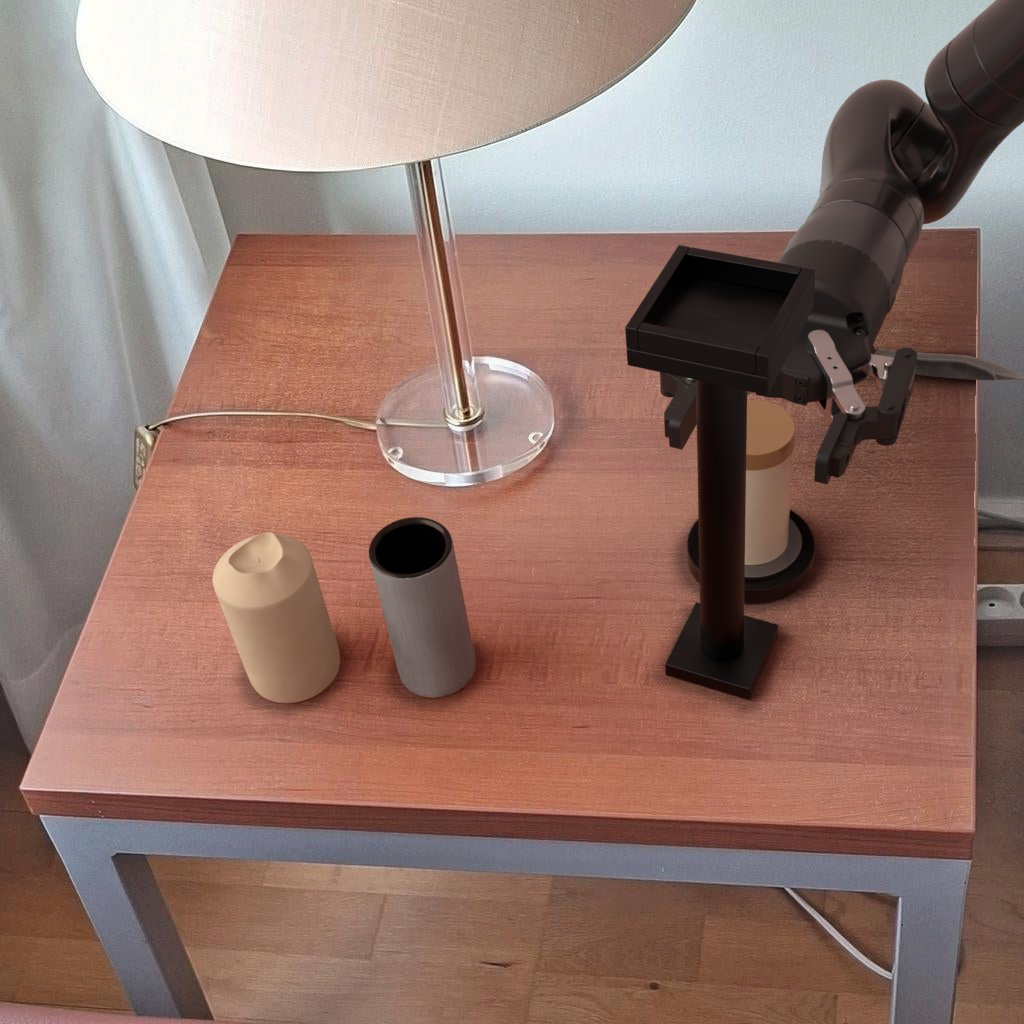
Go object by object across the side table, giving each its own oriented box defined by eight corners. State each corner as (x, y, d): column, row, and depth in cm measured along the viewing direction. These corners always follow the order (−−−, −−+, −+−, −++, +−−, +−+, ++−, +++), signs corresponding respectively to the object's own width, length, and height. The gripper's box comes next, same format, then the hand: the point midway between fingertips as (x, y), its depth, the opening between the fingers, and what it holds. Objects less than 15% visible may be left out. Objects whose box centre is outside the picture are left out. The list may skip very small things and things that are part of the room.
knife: (1026, 397, 94) (1027, 371, 96) (1031, 379, 93) (1031, 353, 95) (748, 363, 98) (755, 338, 100) (750, 344, 97) (756, 320, 99)
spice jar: (800, 522, 85) (806, 409, 79) (775, 575, 83) (779, 462, 76) (727, 504, 87) (728, 392, 81) (701, 555, 84) (699, 443, 78)
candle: (285, 619, 86) (246, 503, 79) (359, 649, 84) (326, 532, 77) (230, 685, 83) (184, 570, 76) (305, 717, 81) (265, 602, 74)
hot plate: (830, 529, 87) (831, 512, 86) (791, 618, 82) (792, 601, 81) (712, 500, 90) (712, 483, 89) (668, 584, 85) (668, 567, 84)
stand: (796, 629, 82) (815, 268, 64) (759, 715, 78) (768, 356, 60) (688, 599, 84) (678, 244, 66) (646, 681, 80) (624, 327, 62)
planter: (488, 649, 83) (466, 526, 76) (455, 707, 80) (428, 586, 73) (420, 629, 85) (392, 507, 77) (385, 686, 82) (352, 565, 75)
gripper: (723, 218, 89) (624, 377, 79) (954, 257, 83) (878, 432, 74) (724, 314, 94) (631, 474, 84) (940, 357, 89) (868, 532, 79)
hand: (746, 454), depth 79 cm, fingers open, 8 cm apart
